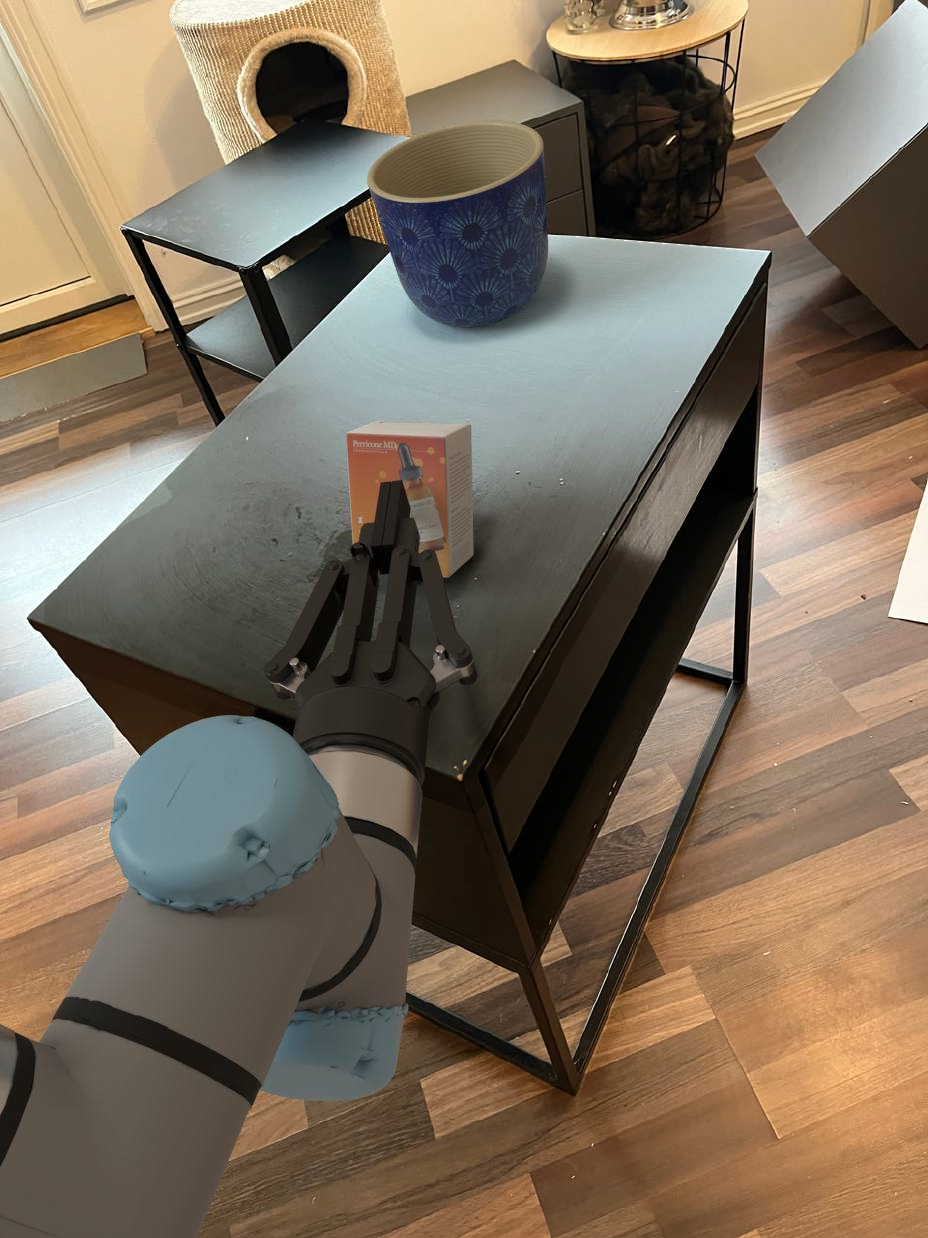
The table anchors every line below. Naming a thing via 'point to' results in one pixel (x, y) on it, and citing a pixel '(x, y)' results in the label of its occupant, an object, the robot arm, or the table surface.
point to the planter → (465, 219)
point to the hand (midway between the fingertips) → (395, 495)
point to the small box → (417, 482)
